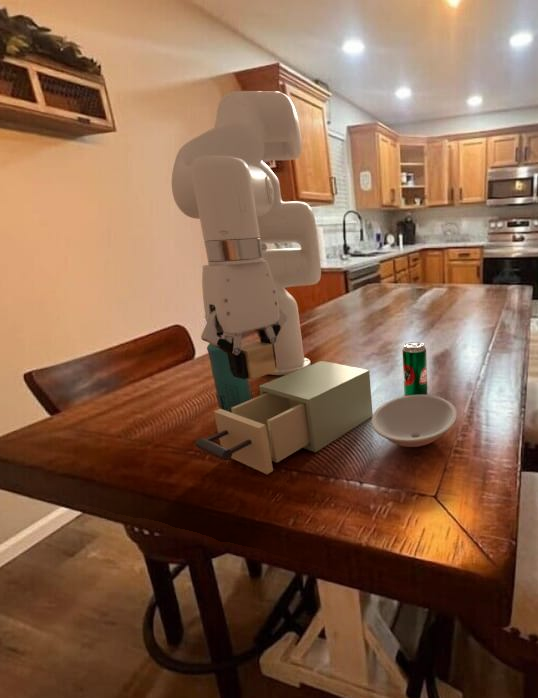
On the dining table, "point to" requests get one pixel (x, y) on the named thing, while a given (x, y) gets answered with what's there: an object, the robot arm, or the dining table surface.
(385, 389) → the dining table surface
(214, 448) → the drawer
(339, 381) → the cabinet
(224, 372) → the beverage bottle
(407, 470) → the dining table surface
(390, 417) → the dish
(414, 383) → the soda can
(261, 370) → the block
